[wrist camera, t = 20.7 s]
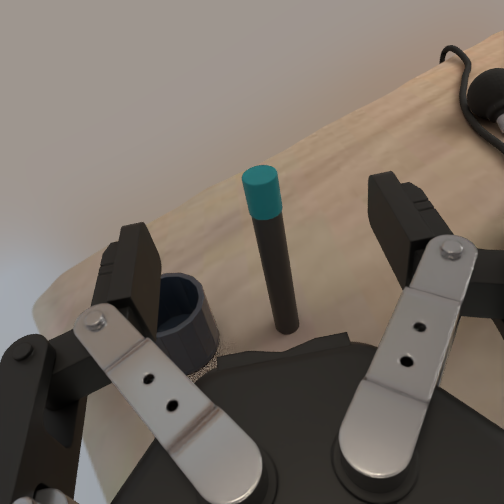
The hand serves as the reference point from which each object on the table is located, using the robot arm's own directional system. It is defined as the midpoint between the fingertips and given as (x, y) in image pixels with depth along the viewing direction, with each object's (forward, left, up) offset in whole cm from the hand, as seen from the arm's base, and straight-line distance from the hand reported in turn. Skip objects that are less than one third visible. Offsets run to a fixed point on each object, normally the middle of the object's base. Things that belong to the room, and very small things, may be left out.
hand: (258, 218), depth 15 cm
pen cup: (-5, -15, -22) cm, 27 cm away
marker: (-10, -7, -22) cm, 26 cm away
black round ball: (-53, +5, -23) cm, 58 cm away
